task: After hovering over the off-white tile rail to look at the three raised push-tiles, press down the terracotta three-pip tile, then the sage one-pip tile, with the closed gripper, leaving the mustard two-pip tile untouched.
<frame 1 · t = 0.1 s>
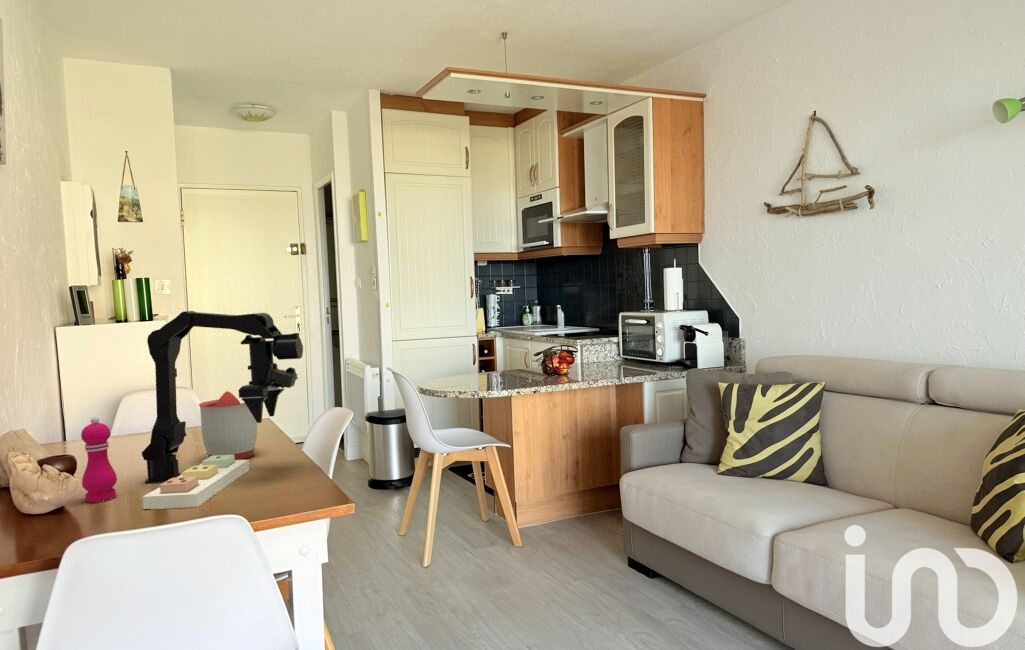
hand: (265, 419, 181), 15 cm above the table, tool pointing down, fingers open, 9 cm apart
tile 1pip: (218, 461, 182), point 4 cm above the table, slide at 0.0 cm
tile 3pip: (179, 485, 160), point 4 cm above the table, slide at 0.0 cm
pepper mill: (101, 499, 166), on the table
citrus juicer: (233, 458, 204), on the table
tile 2pip: (200, 472, 171), point 4 cm above the table, slide at 0.0 cm
tile rail: (201, 488, 171), on the table
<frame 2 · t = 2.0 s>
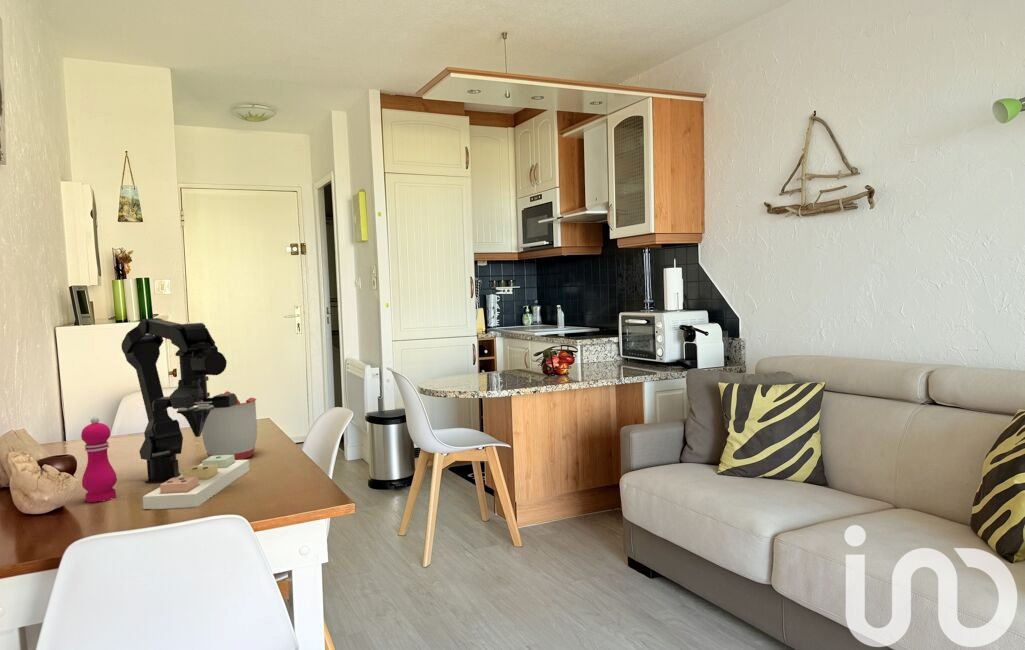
hand: (197, 436, 170), 13 cm above the table, tool pointing down, fingers closed
nothing on the table moved.
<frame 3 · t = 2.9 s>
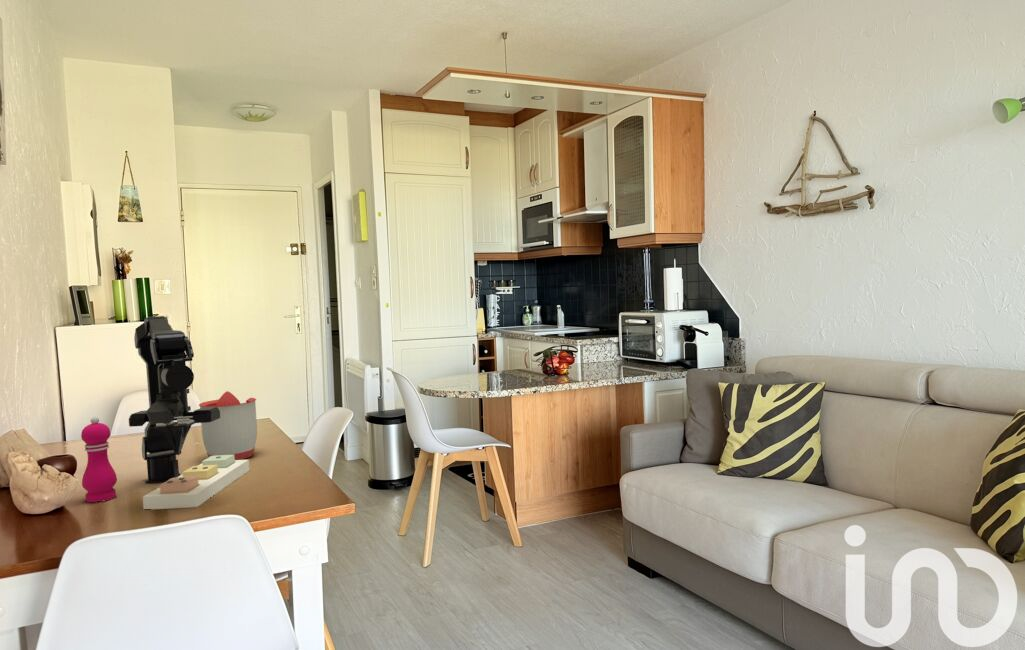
hand: (177, 453, 160), 11 cm above the table, tool pointing down, fingers closed
nothing on the table moved.
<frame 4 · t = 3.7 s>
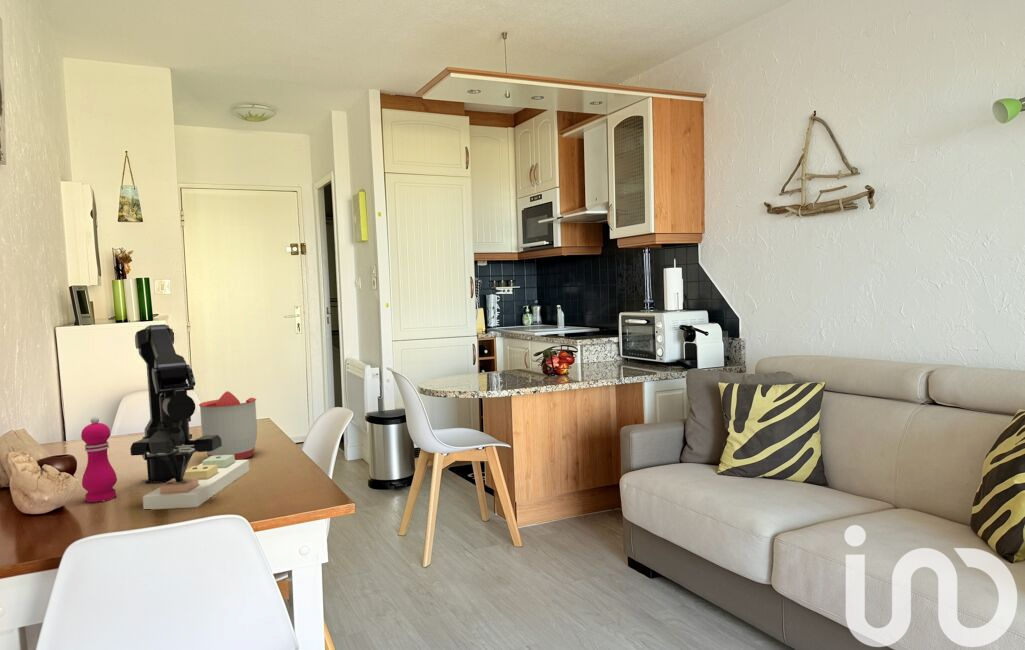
hand: (179, 481, 160), 5 cm above the table, tool pointing down, fingers closed, pressing on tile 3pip
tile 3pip: (179, 486, 160), point 4 cm above the table, slide at 0.3 cm, touching gripper
everything else where it was.
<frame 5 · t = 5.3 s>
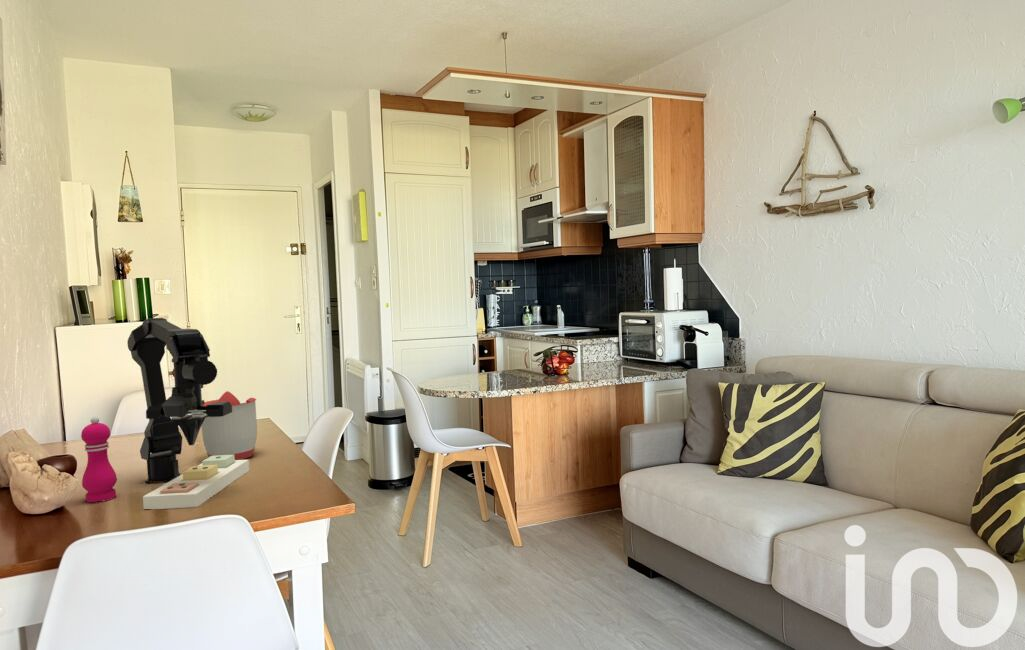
hand: (191, 445, 168), 12 cm above the table, tool pointing down, fingers closed
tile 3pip: (180, 490, 160), point 3 cm above the table, slide at 1.4 cm
everything else where it was.
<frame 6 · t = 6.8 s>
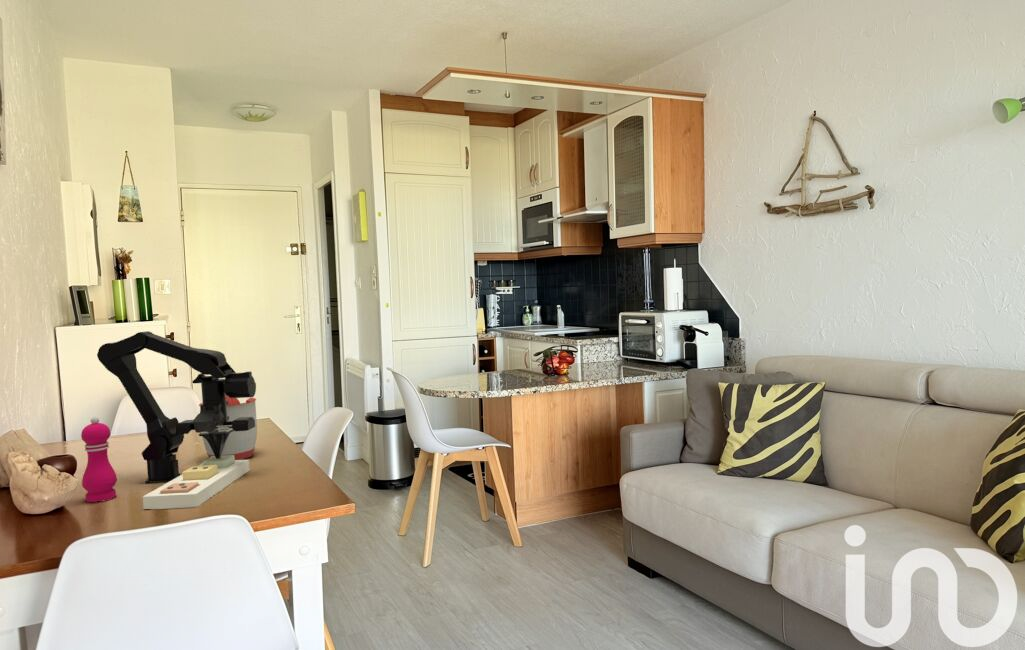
hand: (218, 457, 182), 5 cm above the table, tool pointing down, fingers closed, pressing on tile 1pip
tile 1pip: (218, 462, 182), point 4 cm above the table, slide at 0.2 cm, touching gripper
everything else where it was.
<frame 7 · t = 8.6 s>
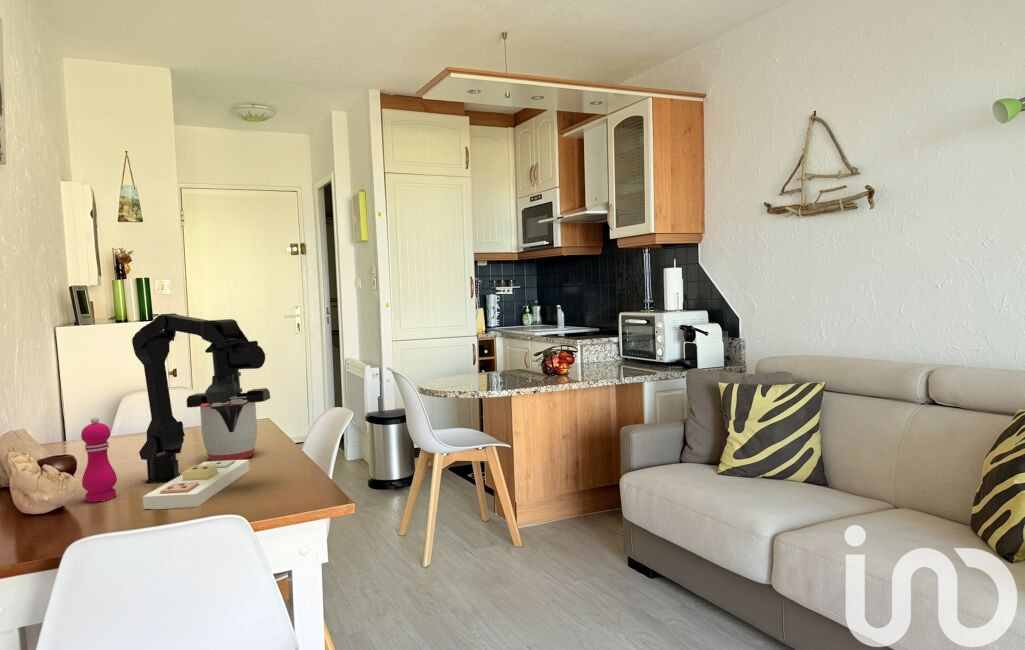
hand: (231, 432, 171), 14 cm above the table, tool pointing down, fingers closed
tile 1pip: (219, 467, 182), point 2 cm above the table, slide at 1.5 cm
everything else where it was.
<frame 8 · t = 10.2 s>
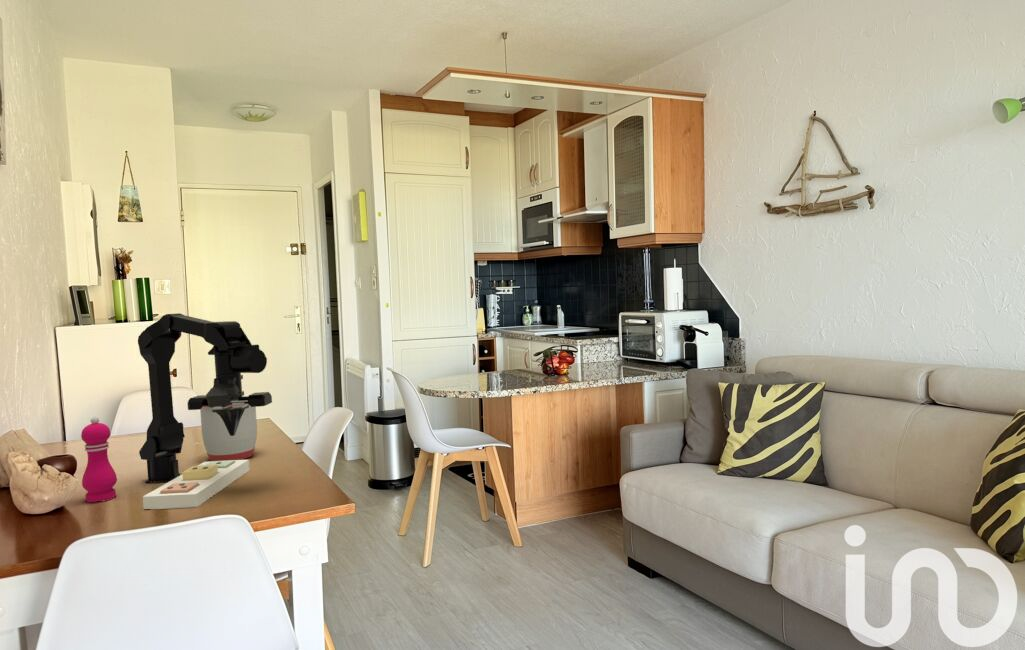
hand: (232, 435, 170), 13 cm above the table, tool pointing down, fingers closed
nothing on the table moved.
at the end: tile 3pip slide at 1.4 cm; tile 1pip slide at 1.5 cm; tile 2pip slide at 0.0 cm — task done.
